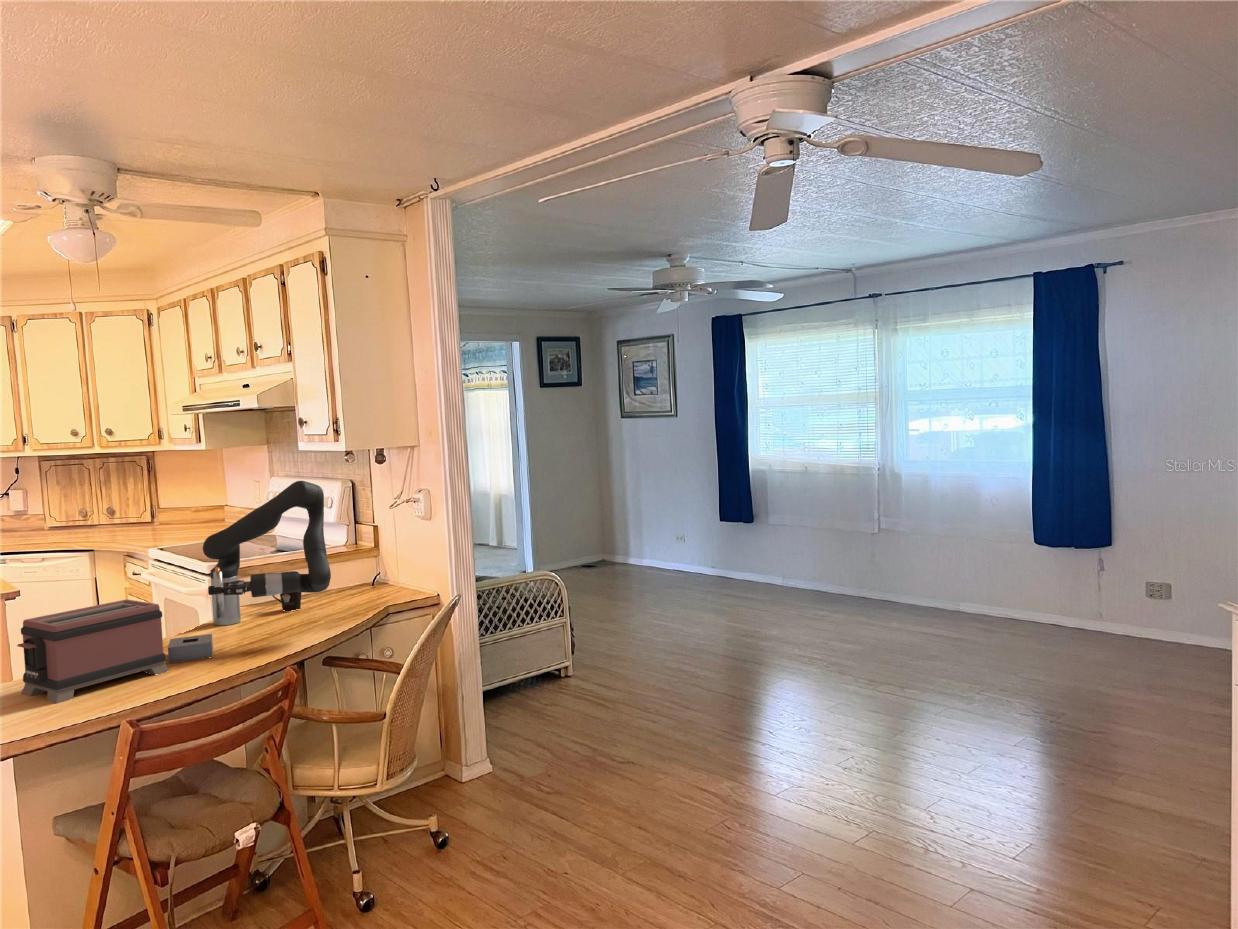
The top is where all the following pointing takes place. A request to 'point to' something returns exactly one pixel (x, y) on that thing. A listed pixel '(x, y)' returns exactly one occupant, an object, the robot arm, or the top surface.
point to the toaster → (91, 647)
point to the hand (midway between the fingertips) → (208, 590)
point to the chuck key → (219, 597)
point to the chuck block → (190, 648)
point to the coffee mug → (290, 600)
